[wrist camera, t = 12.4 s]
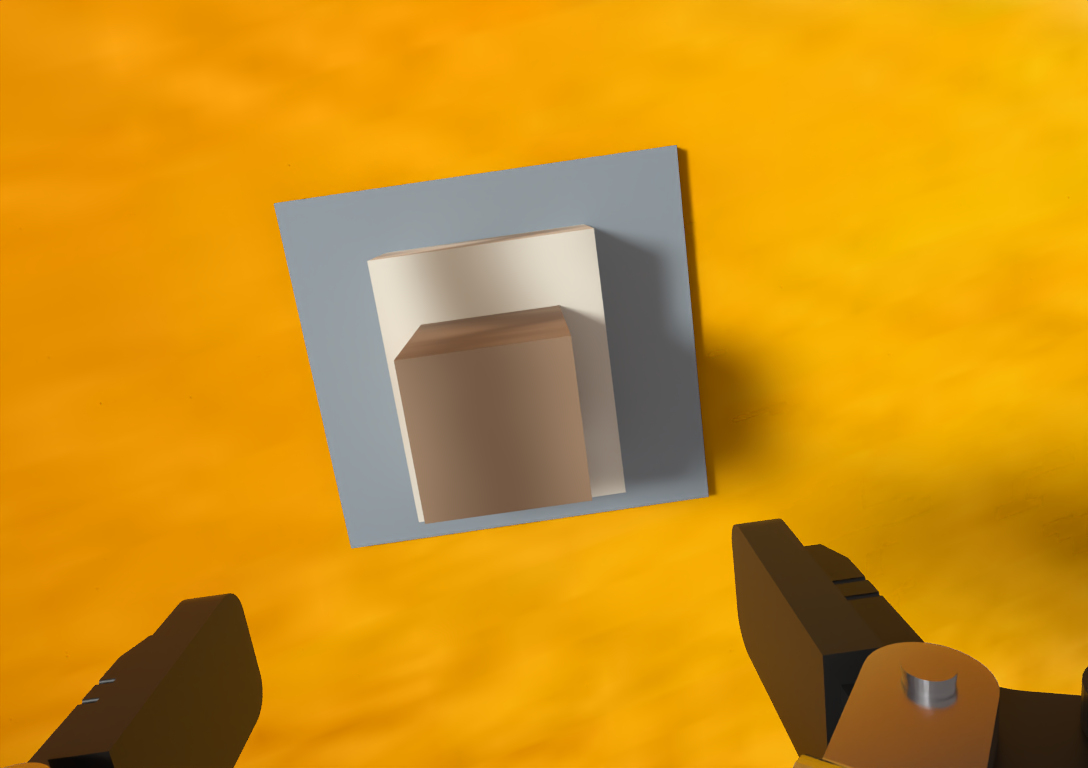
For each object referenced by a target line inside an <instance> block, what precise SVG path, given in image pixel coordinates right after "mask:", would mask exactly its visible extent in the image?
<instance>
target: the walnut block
mask: <svg viewBox="0 0 1088 768" xmlns="http://www.w3.org/2000/svg"><path fill="white" fill-rule="evenodd" d="M394 364H395V370H396V375H397V380H398V385H399V391H400V396H401V401H402V406H403V411H404V417H405V422H406V427H407V432H408V438H409V443H410V448H411V453H412V459H413V464H414V469H415V474H416V479H417V485H418V490H419V495H420V500H421V506H422V511H423V516H424V521H425V524H429V523H436V522H443V521H450V520H457V519H464V518H472V517H479V516H486V515H493V514H500V513H507V512H514V511H521V510H528V509H536V508H543V507H550V506H557V505H564V504H571V503H578V502H585V501H592V494H591V486H590V478H589V471H588V463H587V455H586V447H585V440H584V432H583V424H582V416H581V409H580V401H579V393H578V385H577V378H576V370H575V362H574V354H573V347H572V339H571V334H570V332H569V329H568V326H567V324H566V321H565V319H564V316H563V314H562V311H561V308H560V306H559V305H557V306H550V307H543V308H536V309H528V310H521V311H514V312H507V313H500V314H493V315H486V316H479V317H472V318H464V319H457V320H450V321H443V322H436V323H429V324H422V325H420V326H419V328H418V329H417V330H416V332H415V333H414V334H413V336H412V337H411V338H410V340H409V341H408V342H407V344H406V345H405V346H404V348H403V349H402V350H401V352H400V353H399V354H398V356H397V357H396V358H395V360H394Z"/></svg>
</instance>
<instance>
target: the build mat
mask: <svg viewBox="0 0 1088 768" xmlns="http://www.w3.org/2000/svg"><path fill="white" fill-rule="evenodd" d="M274 206H275V211H276V215H277V220H278V224H279V229H280V233H281V237H282V242H283V246H284V251H285V255H286V260H287V264H288V269H289V273H290V277H291V282H292V286H293V291H294V295H295V300H296V304H297V309H298V313H299V318H300V322H301V326H302V331H303V335H304V340H305V344H306V349H307V353H308V358H309V362H310V366H311V371H312V375H313V380H314V384H315V389H316V393H317V398H318V402H319V406H320V411H321V415H322V420H323V424H324V429H325V433H326V438H327V442H328V446H329V451H330V455H331V460H332V464H333V469H334V473H335V478H336V482H337V487H338V491H339V495H340V500H341V504H342V509H343V513H344V518H345V522H346V527H347V531H348V535H349V540H350V544H351V548H357V547H364V546H371V545H378V544H385V543H391V542H398V541H405V540H412V539H419V538H426V537H433V536H440V535H447V534H454V533H460V532H467V531H474V530H481V529H488V528H495V527H502V526H509V525H516V524H523V523H530V522H536V521H543V520H550V519H557V518H564V517H571V516H578V515H585V514H592V513H599V512H606V511H612V510H619V509H626V508H633V507H640V506H647V505H654V504H661V503H668V502H675V501H682V500H688V499H695V498H702V497H709V495H708V484H707V474H706V463H705V452H704V441H703V430H702V419H701V408H700V397H699V386H698V375H697V364H696V353H695V342H694V331H693V320H692V309H691V298H690V287H689V276H688V265H687V254H686V243H685V232H684V221H683V211H682V200H681V189H680V178H679V167H678V156H677V145H674V146H667V147H660V148H653V149H646V150H639V151H632V152H625V153H619V154H612V155H605V156H598V157H591V158H584V159H577V160H570V161H563V162H556V163H550V164H543V165H536V166H529V167H522V168H515V169H508V170H501V171H494V172H488V173H481V174H474V175H467V176H460V177H453V178H446V179H439V180H432V181H425V182H419V183H412V184H405V185H398V186H391V187H384V188H377V189H370V190H363V191H356V192H350V193H343V194H336V195H329V196H322V197H315V198H308V199H301V200H294V201H287V202H281V203H274ZM581 224H585V225H587V226H590V227H592V228H594V234H595V242H596V250H597V259H598V267H599V275H600V283H601V292H602V300H603V308H604V316H605V325H606V333H607V341H608V349H609V358H610V366H611V374H612V382H613V391H614V399H615V407H616V416H617V424H618V432H619V440H620V449H621V457H622V465H623V473H624V482H625V490H626V492H625V493H618V494H611V495H604V496H597V497H592V501H585V502H578V503H571V504H564V505H557V506H550V507H543V508H536V509H528V510H521V511H514V512H507V513H500V514H493V515H486V516H479V517H472V518H464V519H457V520H450V521H443V522H436V523H429V524H425V521H424V522H419V520H418V515H417V510H416V505H415V500H414V495H413V490H412V485H411V480H410V475H409V470H408V465H407V460H406V455H405V450H404V444H403V439H402V434H401V429H400V424H399V419H398V414H397V409H396V404H395V399H394V394H393V389H392V384H391V379H390V374H389V369H388V364H387V359H386V354H385V349H384V343H383V338H382V333H381V328H380V323H379V318H378V313H377V308H376V303H375V298H374V293H373V288H372V283H371V278H370V273H369V268H368V263H367V261H368V260H371V259H373V258H375V257H378V256H380V255H382V254H385V253H388V252H394V251H401V250H408V249H415V248H422V247H429V246H436V245H443V244H450V243H457V242H463V241H470V240H477V239H484V238H491V237H498V236H505V235H512V234H519V233H526V232H532V231H539V230H546V229H553V228H560V227H567V226H574V225H581Z"/></svg>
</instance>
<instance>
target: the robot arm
mask: <svg viewBox="0 0 1088 768" xmlns="http://www.w3.org/2000/svg"><path fill="white" fill-rule="evenodd" d="M732 547H733V559H734V572H735V584H736V597H737V609H738V618H739V624H740V629H741V633H742V637H743V641H744V644H745V647H746V650H747V652H748V655H749V657H750V659H751V661H752V663H753V665H754V667H755V669H756V671H757V673H758V675H759V677H760V679H761V681H762V683H763V685H764V687H765V689H766V691H767V693H768V695H769V697H770V699H771V701H772V703H773V705H774V707H775V709H776V711H777V713H778V715H779V717H780V719H781V721H782V723H783V725H784V727H785V729H786V731H787V733H788V735H789V737H790V739H791V741H792V743H793V745H794V747H795V750H796V752H797V754H798V756H799V758H798V760H797V761H796V763H795V765H794V767H793V768H1088V667H1087V668H1086V669H1085V671H1084V673H1083V677H1082V694H1081V696H1079V695H1067V694H1054V693H1042V692H1029V691H1020V690H1012V689H1007V688H1002V687H999V685H998V682H997V680H996V679H995V677H994V675H993V674H992V673H991V672H990V671H989V670H988V669H987V668H986V667H985V666H984V665H983V664H981V663H980V662H979V661H977V660H975V659H974V658H972V657H970V656H968V655H966V654H964V653H962V652H960V651H957V650H954V649H952V648H949V647H945V646H941V645H936V644H931V643H925V642H924V641H923V640H922V639H921V638H920V637H919V636H918V635H917V634H916V633H915V631H914V630H913V629H912V628H911V627H910V626H909V625H908V624H907V623H906V621H905V620H904V619H903V618H902V617H901V616H900V615H899V614H898V613H897V612H896V610H895V609H894V608H893V607H892V606H891V605H890V604H889V603H888V602H887V600H886V599H885V598H884V597H883V596H880V595H879V592H878V591H877V589H876V588H875V587H874V586H873V585H872V584H871V583H870V582H869V581H868V580H865V576H864V575H863V574H862V573H861V572H860V571H859V570H858V568H857V567H856V566H855V565H854V564H853V563H852V562H851V561H850V560H849V558H847V557H845V556H843V555H841V554H839V553H837V552H835V551H833V550H831V549H829V548H827V547H825V546H823V545H821V544H818V545H811V546H803V545H802V543H801V542H800V541H799V540H798V538H797V537H796V536H795V535H794V533H793V532H792V531H791V530H790V529H789V527H788V526H787V525H786V524H785V522H784V521H783V520H782V519H772V520H765V521H758V522H751V523H743V524H736V525H734V526H733V529H732ZM82 701H83V702H82V704H81V705H77V706H76V708H75V709H74V710H73V711H72V712H71V713H70V714H69V716H68V717H67V718H66V719H65V720H64V721H63V722H62V724H61V725H60V726H59V727H58V728H57V729H56V730H55V732H54V733H53V734H52V735H51V736H50V737H49V738H48V740H47V741H46V742H45V743H44V744H43V745H42V746H41V748H40V749H39V750H38V751H37V752H36V753H35V754H34V756H33V757H32V758H31V759H30V760H29V761H28V762H27V763H21V764H16V765H12V766H8V767H4V768H233V767H234V765H235V764H236V762H237V760H238V758H239V756H240V754H241V752H242V750H243V748H244V746H245V744H246V742H247V740H248V738H249V736H250V734H251V732H252V730H253V728H254V726H255V724H256V722H257V720H258V717H259V714H260V711H261V705H262V680H261V675H260V671H259V667H258V664H257V660H256V656H255V652H254V649H253V645H252V641H251V637H250V634H249V630H248V626H247V622H246V619H245V615H244V611H243V608H242V605H241V602H240V600H239V599H238V597H237V596H236V595H234V594H231V593H230V594H223V595H215V596H208V597H201V598H194V599H187V600H183V601H182V602H181V603H179V605H178V606H177V607H176V608H175V609H174V610H173V612H172V613H171V614H170V615H169V616H168V618H167V619H166V620H165V621H164V622H163V623H162V625H161V626H160V627H159V628H158V629H157V631H156V632H155V633H154V634H153V635H151V636H149V637H147V638H146V639H145V640H143V641H142V642H140V643H139V644H138V645H136V646H135V647H133V648H132V649H131V650H129V651H128V652H126V653H125V654H123V655H122V656H121V657H119V658H118V660H117V661H116V662H115V663H114V664H113V665H112V666H111V668H110V669H109V670H108V671H107V672H106V673H105V674H104V676H103V677H102V678H101V679H100V680H99V685H95V686H94V687H93V688H92V689H91V690H90V692H89V693H88V694H87V695H86V696H85V697H84V698H83V700H82Z"/></svg>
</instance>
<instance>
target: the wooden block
mask: <svg viewBox="0 0 1088 768" xmlns="http://www.w3.org/2000/svg"><path fill="white" fill-rule="evenodd" d="M367 263H368V268H369V273H370V278H371V283H372V288H373V293H374V298H375V303H376V308H377V313H378V318H379V323H380V328H381V333H382V338H383V343H384V349H385V354H386V359H387V364H388V369H389V374H390V379H391V384H392V389H393V394H394V399H395V404H396V409H397V414H398V419H399V424H400V429H401V434H402V439H403V444H404V450H405V455H406V460H407V465H408V470H409V475H410V480H411V485H412V490H413V495H414V500H415V505H416V510H417V515H418V520H419V522H424V516H423V511H422V506H421V500H420V495H419V490H418V485H417V479H416V474H415V469H414V464H413V459H412V453H411V448H410V443H409V438H408V432H407V427H406V422H405V417H404V411H403V406H402V401H401V396H400V391H399V385H398V380H397V375H396V370H395V364H394V360H395V358H396V357H397V356H398V354H399V353H400V352H401V350H402V349H403V348H404V346H405V345H406V344H407V342H408V341H409V340H410V338H411V337H412V336H413V334H414V333H415V332H416V330H417V329H418V328H419V326H420V325H422V324H429V323H436V322H443V321H450V320H457V319H464V318H472V317H479V316H486V315H493V314H500V313H507V312H514V311H521V310H528V309H536V308H543V307H550V306H557V305H559V306H560V308H561V311H562V314H563V316H564V319H565V321H566V324H567V326H568V329H569V332H570V334H571V339H572V347H573V354H574V362H575V370H576V378H577V385H578V393H579V401H580V409H581V416H582V424H583V432H584V440H585V447H586V455H587V463H588V471H589V478H590V486H591V494H592V497H597V496H604V495H611V494H618V493H625V492H626V490H625V482H624V473H623V465H622V457H621V449H620V440H619V432H618V424H617V416H616V407H615V399H614V391H613V382H612V374H611V366H610V358H609V349H608V341H607V333H606V325H605V316H604V308H603V300H602V292H601V283H600V275H599V267H598V259H597V250H596V242H595V234H594V228H592V227H590V226H587V225H585V224H581V225H574V226H567V227H560V228H553V229H546V230H539V231H532V232H526V233H519V234H512V235H505V236H498V237H491V238H484V239H477V240H470V241H463V242H457V243H450V244H443V245H436V246H429V247H422V248H415V249H408V250H401V251H394V252H388V253H385V254H382V255H380V256H378V257H375V258H373V259H371V260H368V261H367Z"/></svg>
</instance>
